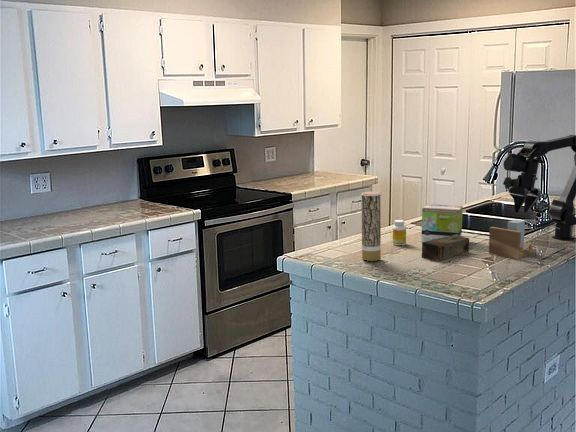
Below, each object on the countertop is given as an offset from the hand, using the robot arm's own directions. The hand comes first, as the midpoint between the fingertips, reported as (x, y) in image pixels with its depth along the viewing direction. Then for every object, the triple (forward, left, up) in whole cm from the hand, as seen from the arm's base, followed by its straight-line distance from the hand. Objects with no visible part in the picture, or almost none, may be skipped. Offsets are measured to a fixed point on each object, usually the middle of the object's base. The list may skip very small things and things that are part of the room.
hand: (521, 212), depth 241 cm
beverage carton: (+36, -3, -13) cm, 38 cm away
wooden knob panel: (+14, +9, -12) cm, 21 cm away
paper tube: (+63, -13, -12) cm, 65 cm away
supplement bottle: (+40, -26, -13) cm, 49 cm away
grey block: (+13, +9, -12) cm, 20 cm away
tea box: (+23, -20, -13) cm, 33 cm away
